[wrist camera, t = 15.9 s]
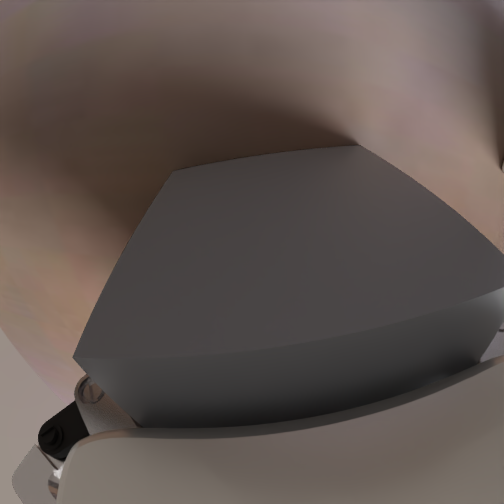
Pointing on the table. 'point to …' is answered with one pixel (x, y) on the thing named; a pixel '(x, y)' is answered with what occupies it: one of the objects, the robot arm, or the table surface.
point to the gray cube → (290, 293)
